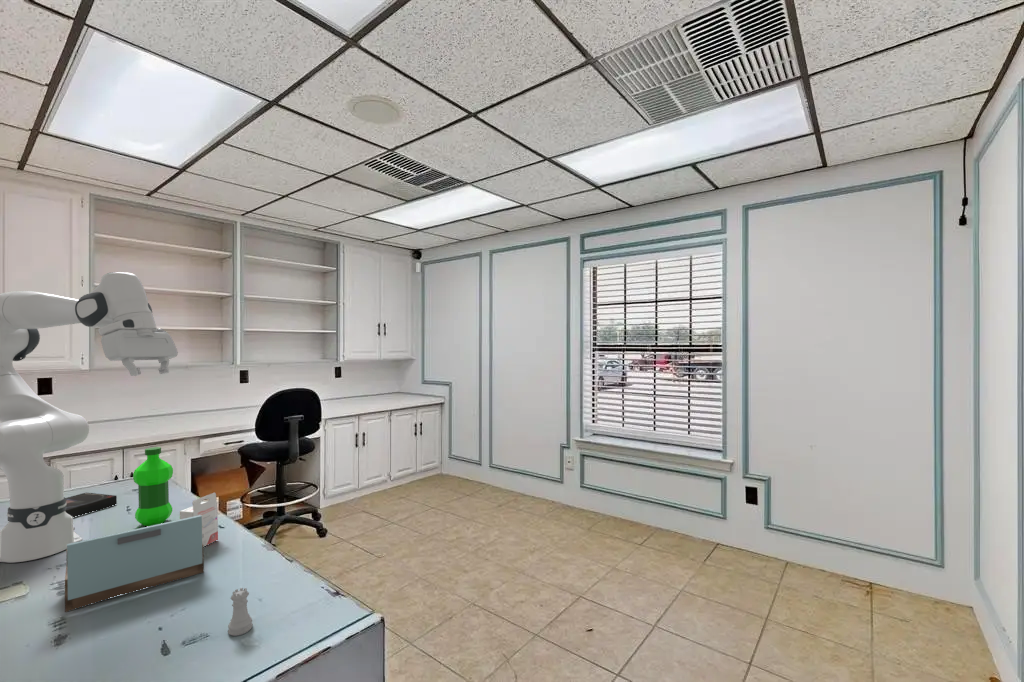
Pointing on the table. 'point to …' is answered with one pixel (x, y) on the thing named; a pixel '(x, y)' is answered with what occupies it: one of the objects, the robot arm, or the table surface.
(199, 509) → the ink cartridge box
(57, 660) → the table surface
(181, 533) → the drawer face panel
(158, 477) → the plastic bottle
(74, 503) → the flat black box
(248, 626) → the rook chess piece
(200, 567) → the brown long open box
